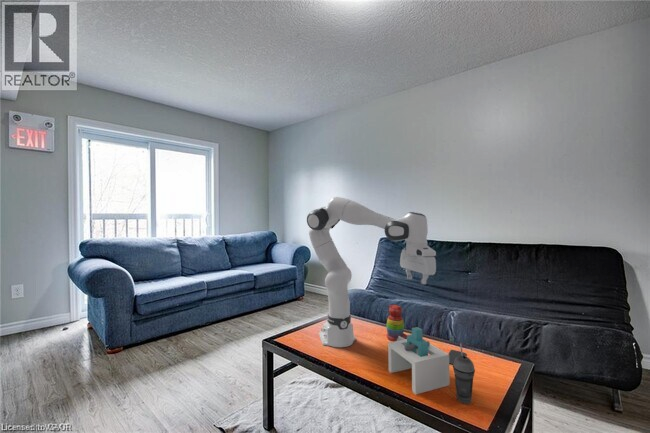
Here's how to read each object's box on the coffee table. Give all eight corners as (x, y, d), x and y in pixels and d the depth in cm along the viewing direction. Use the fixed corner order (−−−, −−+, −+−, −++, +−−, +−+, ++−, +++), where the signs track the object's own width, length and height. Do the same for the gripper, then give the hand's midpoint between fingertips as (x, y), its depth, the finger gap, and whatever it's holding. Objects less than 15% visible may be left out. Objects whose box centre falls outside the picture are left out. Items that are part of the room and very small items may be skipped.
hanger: (407, 361, 124) (406, 325, 124) (414, 359, 125) (413, 324, 125) (420, 371, 115) (420, 333, 115) (428, 369, 117) (428, 332, 117)
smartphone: (467, 353, 140) (461, 365, 128) (467, 355, 140) (461, 367, 128) (450, 349, 145) (443, 361, 132) (450, 351, 145) (443, 363, 132)
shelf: (388, 370, 126) (388, 338, 126) (419, 363, 131) (418, 332, 131) (415, 394, 109) (415, 356, 109) (449, 385, 115) (449, 349, 115)
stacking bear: (408, 337, 160) (408, 304, 160) (401, 344, 152) (401, 309, 151) (389, 332, 166) (389, 301, 166) (382, 339, 158) (382, 305, 158)
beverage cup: (464, 408, 101) (464, 350, 101) (448, 396, 107) (447, 342, 107) (480, 403, 104) (479, 346, 104) (462, 391, 110) (462, 338, 110)
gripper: (396, 247, 136) (396, 277, 137) (426, 252, 117) (425, 287, 117) (408, 246, 139) (407, 276, 139) (438, 252, 119) (438, 286, 120)
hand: (416, 281), depth 128 cm, fingers open, 8 cm apart
